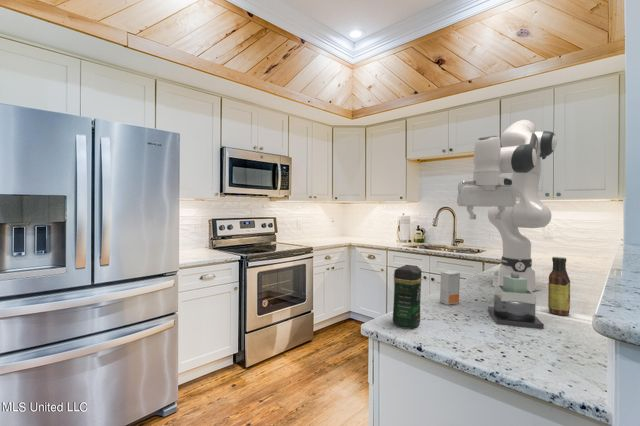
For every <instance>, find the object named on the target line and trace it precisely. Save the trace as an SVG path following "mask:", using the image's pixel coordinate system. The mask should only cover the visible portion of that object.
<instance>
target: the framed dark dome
mask: <svg viewBox="0 0 640 426" xmlns="http://www.w3.org/2000/svg"><path fill="white" fill-rule="evenodd" d="M536 305H537V293H535V292H534V291H531V290H530V289H528V288H527V293H518V292H505V291H503V285H495V287H494V295H493V306H491V305H489V306H487V311H488V313H489V315H490V316H491V318H492V319H493V321H494V323H495V324H496V325H503V326H512V327H520V328H521V327H522V328H531V329H539V330H544V329H545V324H544V322H542V321H541V320H540V319H539V318H538V317H537V316H536V308H537V306H536Z"/></svg>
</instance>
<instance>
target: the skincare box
mask: <svg viewBox="0 0 640 426" xmlns="http://www.w3.org/2000/svg"><path fill="white" fill-rule="evenodd" d="M460 281H461V273H460V272H458V271H455V270H449V271H448V270H445V271H441V272H440V283H439V284H440V286H439V287H440V288H439V293H440V294H439V302H440V303H442V304H444V305H446V306H451V305H456V304H460V288H461V287H460V286H461V285H460V284H461V282H460Z"/></svg>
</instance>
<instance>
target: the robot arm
mask: <svg viewBox="0 0 640 426" xmlns="http://www.w3.org/2000/svg"><path fill="white" fill-rule="evenodd" d="M557 142H558V139H557V137H556V134H555V133H554V132H553V131H550V130H543V131H536V125H535V124H534V123H533V122H532V121H531V120H528V119H520V120H517V121H515V122H513V123H512V124H510V125H509V126H508V127H507V128H506V129H505V130H504V131H503V133H502V134H501V136H500V137H499V136H498V135H491V136H482V137H479V138H477V139H476V140H475V142H474V143H475V144H474V148H473V165H474V169H473V172H472V174H473V175H472V176H473V177H472V180H462V181H461V182H459V183H458V185H457V198H456V204H457V205H458V207H466V211H467V213H468V214H469V219H470V220H477V214H475V213H474V207H487V208H488V207H489V210H488V211H487V218H488V220H489V222H490V223H491V224H492V225H493V226H494V227H496V230H497V231H498V232H499V234H500V237H501V241H502V255H501V258H500V259H501V260H500V265H499V268H498V270H494V271H493V272H494V273H493V275H494V276H495V278H492V287H494V288H495V285H503V276H511V272H516V273H519V277H521V278H524V279H527V288H528V289H530V290H531V291H532V292H534V291H540V287H538V286H537V284H536V282H537V281H536V272H535V270H534V269H533V268H532V266H533V259H532V257H531V256H532V243H531V241H530V238H528V237H526V236H524V235H523V234H522V233H521V232H520V231H519V228H520V229H521V228H522V229H523V228H525V229H539V228H546V226H548V225H549V224H550V222H551V220H552V211H551V209H550V208H549V207H548V206H547V205H545V204H544V203H543V202H542V201H541V198H540V197H539V184H540V179H541V173H542V160H545V159H546V158H547V157H549V156H550V155H552V154H553V153H554V152H555V150H556V147H557V145H558V143H557ZM541 159H542V160H541ZM501 174H512V175H511V178H509V177H506V176H504V175H501ZM517 198H518V199H519V202H517Z"/></svg>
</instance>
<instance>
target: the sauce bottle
mask: <svg viewBox="0 0 640 426" xmlns="http://www.w3.org/2000/svg"><path fill="white" fill-rule="evenodd" d="M551 260H552V271H551V272H550V273H549V275H548V283H547V284H548V288H547V289H548V291H547V292H548V293H547V296H548V297H547V303H548V304H547V306H548V307H547V308H548V312H549V313H550V314H553V315H557V316H569V315H570V310H571V280H570V277H569V275H568V272H567V267H566V265H567V258H566V257H563V256H552V258H551Z"/></svg>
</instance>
